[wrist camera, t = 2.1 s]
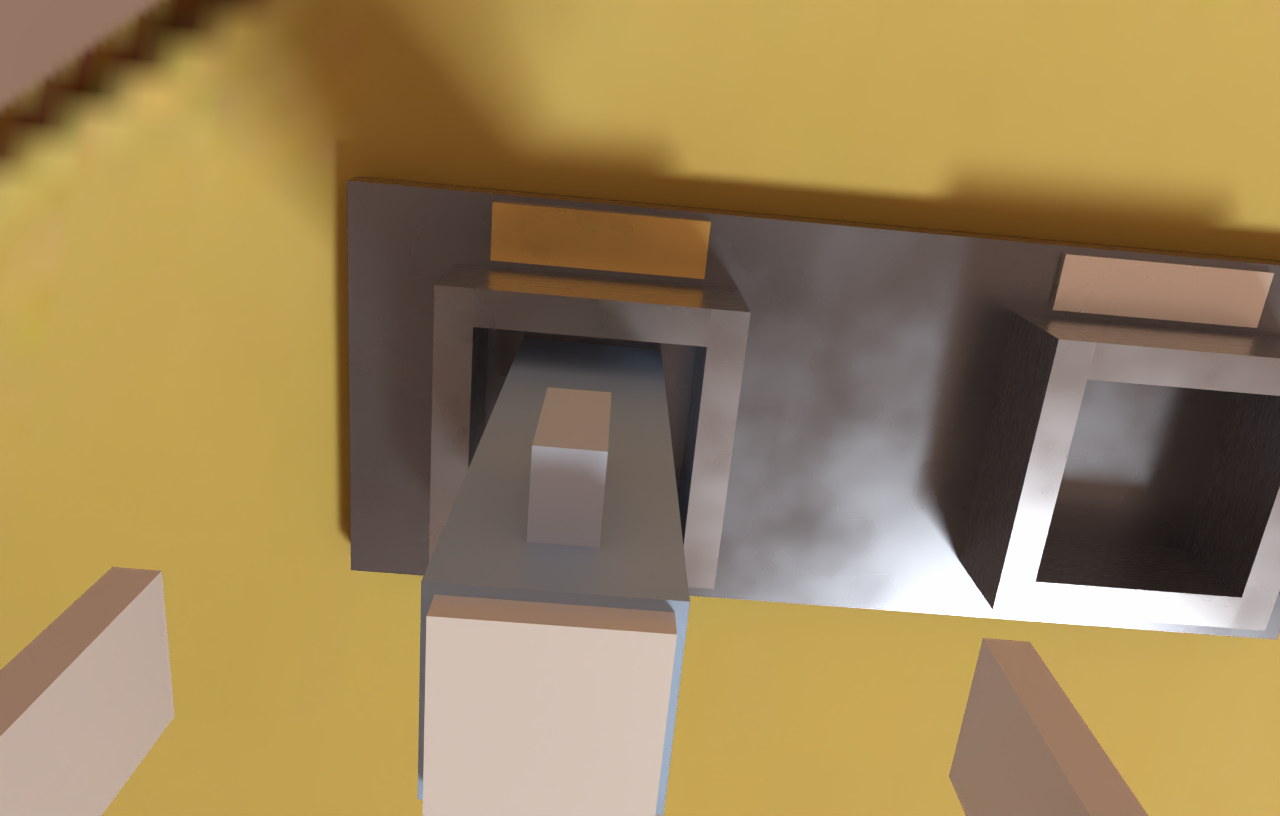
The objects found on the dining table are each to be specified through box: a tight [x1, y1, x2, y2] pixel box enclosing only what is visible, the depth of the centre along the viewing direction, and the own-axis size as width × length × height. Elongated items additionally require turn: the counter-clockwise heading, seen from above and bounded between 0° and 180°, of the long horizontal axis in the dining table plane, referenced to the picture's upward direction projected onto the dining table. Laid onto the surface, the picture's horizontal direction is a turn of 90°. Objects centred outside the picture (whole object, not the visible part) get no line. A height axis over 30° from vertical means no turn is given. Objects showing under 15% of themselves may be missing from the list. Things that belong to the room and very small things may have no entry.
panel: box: [347, 177, 1280, 640], centre depth 27 cm, size 30×12×4 cm, turn 85°
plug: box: [418, 338, 690, 816], centre depth 21 cm, size 4×6×15 cm
